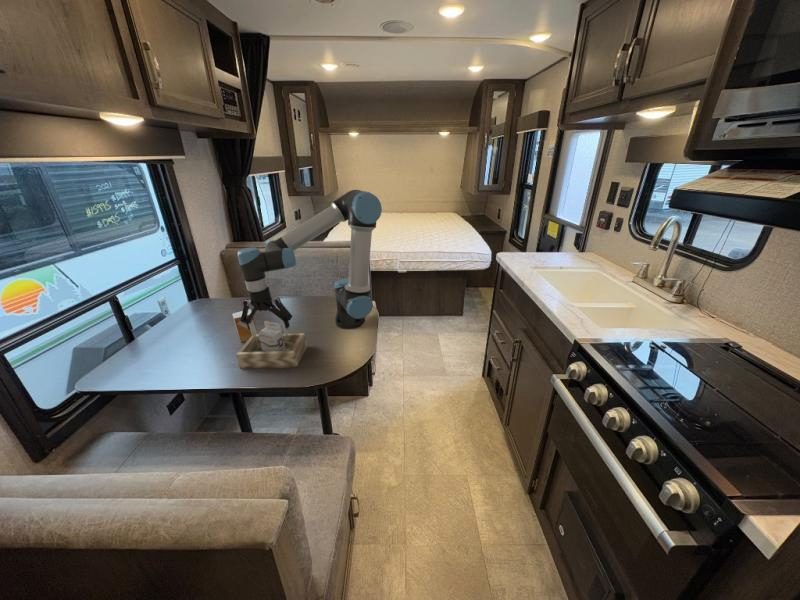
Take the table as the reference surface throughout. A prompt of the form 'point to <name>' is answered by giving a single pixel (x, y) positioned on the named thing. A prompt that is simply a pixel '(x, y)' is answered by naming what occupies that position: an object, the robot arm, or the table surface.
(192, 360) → the table surface
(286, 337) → the crate
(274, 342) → the ink box
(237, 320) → the small box
